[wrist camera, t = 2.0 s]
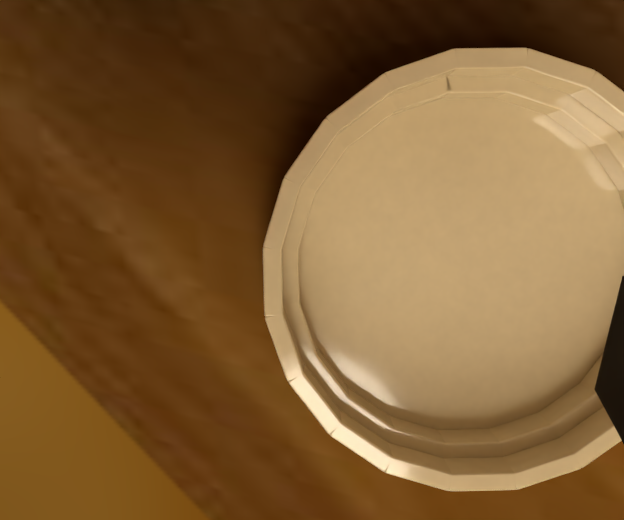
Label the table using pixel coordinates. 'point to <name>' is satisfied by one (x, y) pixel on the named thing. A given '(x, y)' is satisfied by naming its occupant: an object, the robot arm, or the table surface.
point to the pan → (456, 268)
